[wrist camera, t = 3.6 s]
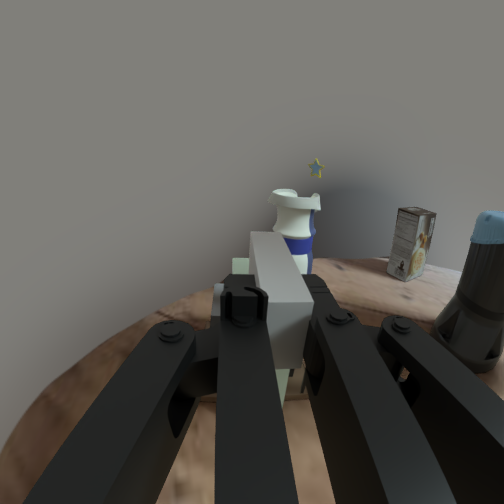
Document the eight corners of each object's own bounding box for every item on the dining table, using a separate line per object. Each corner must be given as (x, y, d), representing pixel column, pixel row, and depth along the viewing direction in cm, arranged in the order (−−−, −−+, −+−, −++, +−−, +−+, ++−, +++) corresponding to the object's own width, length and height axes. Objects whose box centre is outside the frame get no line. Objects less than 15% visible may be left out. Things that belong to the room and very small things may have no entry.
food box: (404, 265, 66) (416, 206, 60) (423, 274, 61) (437, 213, 55) (385, 272, 62) (398, 207, 56) (405, 283, 57) (421, 215, 51)
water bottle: (274, 284, 56) (282, 154, 46) (315, 295, 52) (331, 159, 43) (254, 303, 49) (261, 155, 39) (300, 317, 45) (318, 160, 36)
